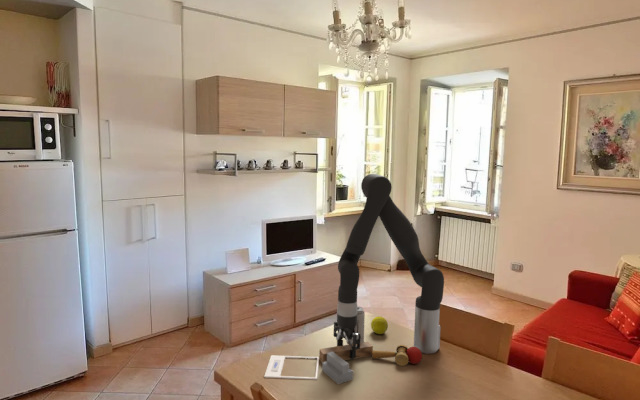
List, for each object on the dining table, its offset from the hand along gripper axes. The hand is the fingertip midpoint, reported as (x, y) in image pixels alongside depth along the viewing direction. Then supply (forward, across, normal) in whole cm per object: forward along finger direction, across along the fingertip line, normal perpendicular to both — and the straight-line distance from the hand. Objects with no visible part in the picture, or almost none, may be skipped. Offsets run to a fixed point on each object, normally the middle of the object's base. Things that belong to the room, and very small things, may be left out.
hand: (345, 353), depth 160 cm
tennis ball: (+1, +10, -24) cm, 26 cm away
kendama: (+1, -12, -15) cm, 19 cm away
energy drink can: (+1, +6, -9) cm, 11 cm away
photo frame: (+2, +3, +21) cm, 21 cm away
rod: (+1, 0, 0) cm, 1 cm away
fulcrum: (+1, -9, +10) cm, 13 cm away
